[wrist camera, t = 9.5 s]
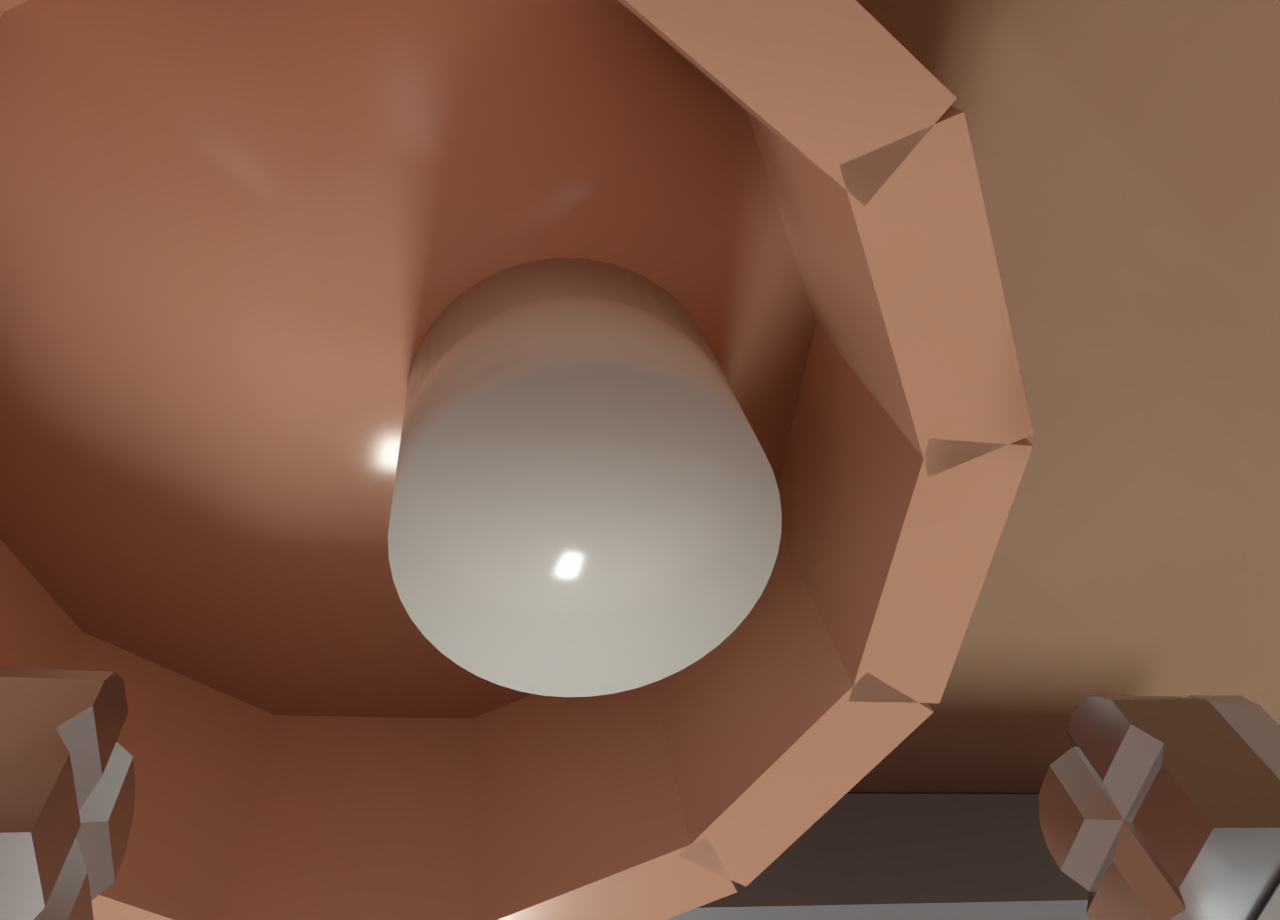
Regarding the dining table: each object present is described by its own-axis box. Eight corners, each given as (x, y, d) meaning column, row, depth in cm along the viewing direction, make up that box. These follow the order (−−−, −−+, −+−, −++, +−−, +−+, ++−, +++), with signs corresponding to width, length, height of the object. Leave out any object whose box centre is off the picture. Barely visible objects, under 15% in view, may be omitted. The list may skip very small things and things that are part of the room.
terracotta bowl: (997, -99, 13) (1229, -98, 9) (766, 753, 19) (840, 975, 15) (-328, -342, 10) (-848, -498, 6) (-77, 745, 16) (-252, 1013, 12)
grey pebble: (745, 275, 14) (821, 382, 11) (690, 546, 16) (741, 700, 13) (413, 241, 13) (395, 346, 10) (399, 532, 15) (381, 693, 12)
